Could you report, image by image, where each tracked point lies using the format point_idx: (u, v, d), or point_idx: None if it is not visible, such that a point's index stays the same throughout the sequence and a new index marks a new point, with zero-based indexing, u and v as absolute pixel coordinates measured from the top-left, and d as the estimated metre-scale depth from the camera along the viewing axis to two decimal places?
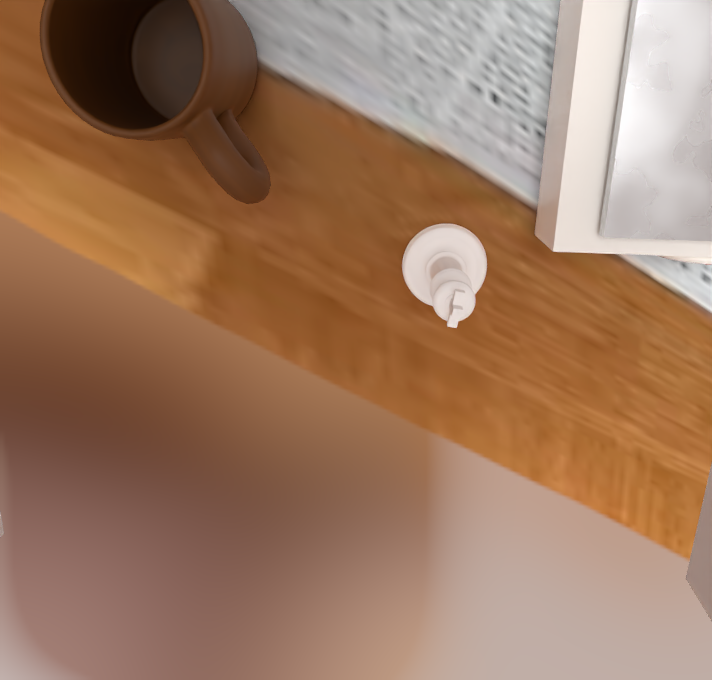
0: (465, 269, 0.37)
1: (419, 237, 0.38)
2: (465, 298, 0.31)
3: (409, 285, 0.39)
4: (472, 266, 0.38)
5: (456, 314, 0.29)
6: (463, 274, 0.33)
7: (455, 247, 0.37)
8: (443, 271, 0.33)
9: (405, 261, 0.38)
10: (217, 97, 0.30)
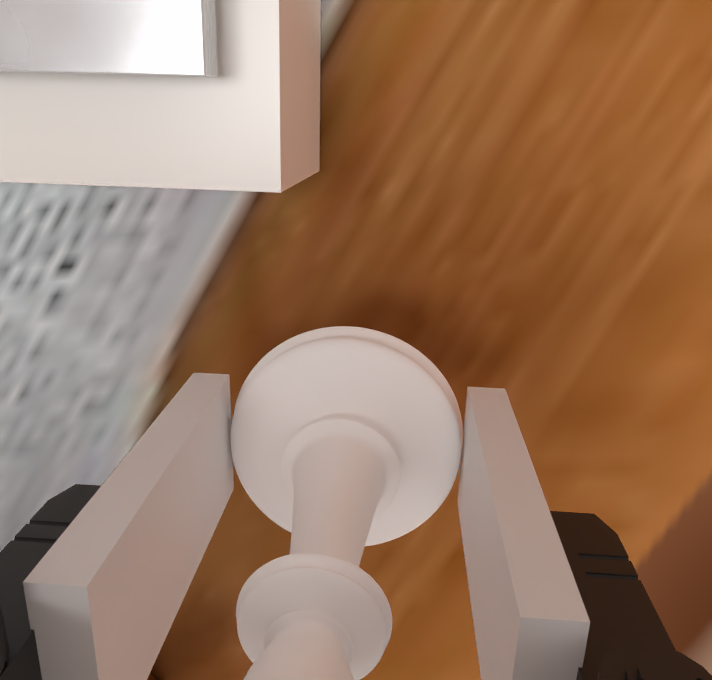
0: (331, 423, 0.12)
1: (262, 510, 0.14)
2: None
3: (392, 538, 0.14)
4: (332, 388, 0.13)
5: None
6: (250, 589, 0.09)
7: (277, 434, 0.13)
8: None
9: None
10: None
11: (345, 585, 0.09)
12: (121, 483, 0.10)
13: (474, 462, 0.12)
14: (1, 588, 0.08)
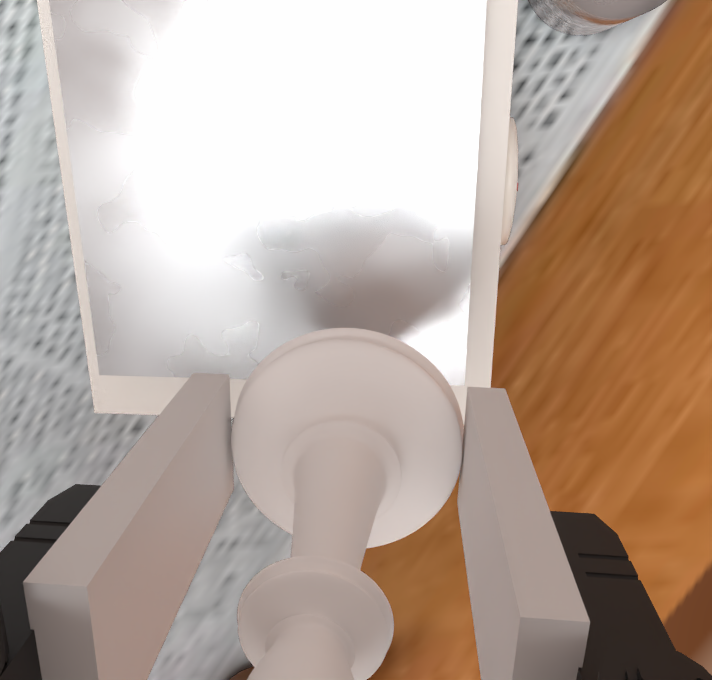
0: (332, 424, 0.12)
1: (262, 512, 0.14)
2: None
3: (393, 540, 0.14)
4: (333, 389, 0.13)
5: None
6: (252, 592, 0.09)
7: (278, 436, 0.13)
8: None
9: None
10: None
11: (347, 588, 0.09)
12: (121, 483, 0.10)
13: (474, 462, 0.12)
14: (1, 588, 0.08)
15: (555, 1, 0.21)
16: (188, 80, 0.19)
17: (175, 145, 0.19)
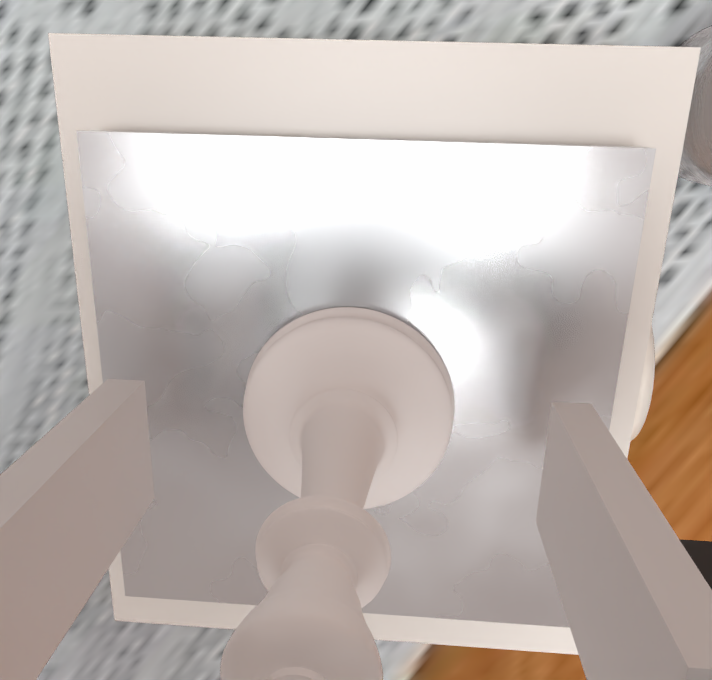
0: (335, 393, 0.14)
1: (271, 476, 0.16)
2: (277, 662, 0.08)
3: (391, 500, 0.15)
4: (336, 362, 0.14)
5: None
6: (268, 527, 0.10)
7: (286, 405, 0.14)
8: None
9: None
10: None
11: (350, 522, 0.10)
12: None
13: (572, 484, 0.11)
14: None
15: (701, 168, 0.17)
16: (255, 272, 0.15)
17: (234, 346, 0.15)
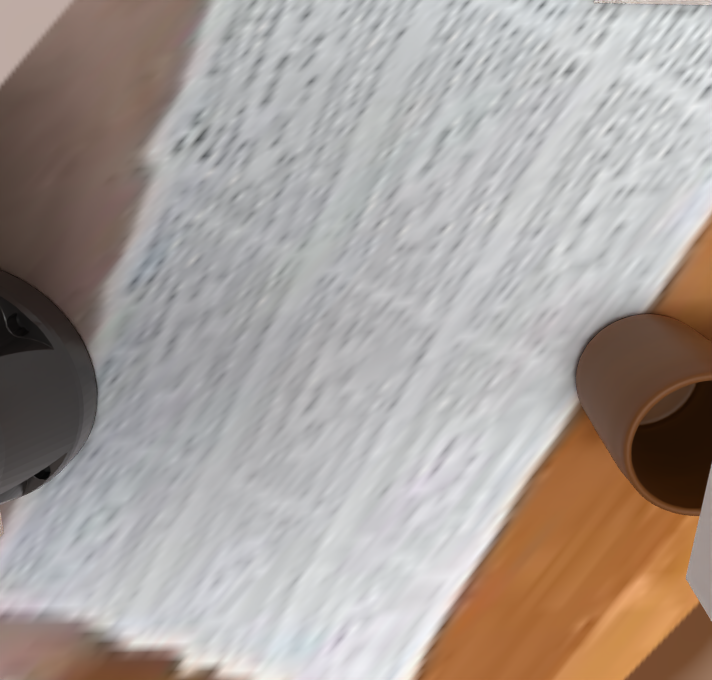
0: None
1: None
2: None
3: None
4: None
5: None
6: None
7: None
8: None
9: None
10: None
11: None
12: None
13: None
14: None
15: None
16: None
17: None
